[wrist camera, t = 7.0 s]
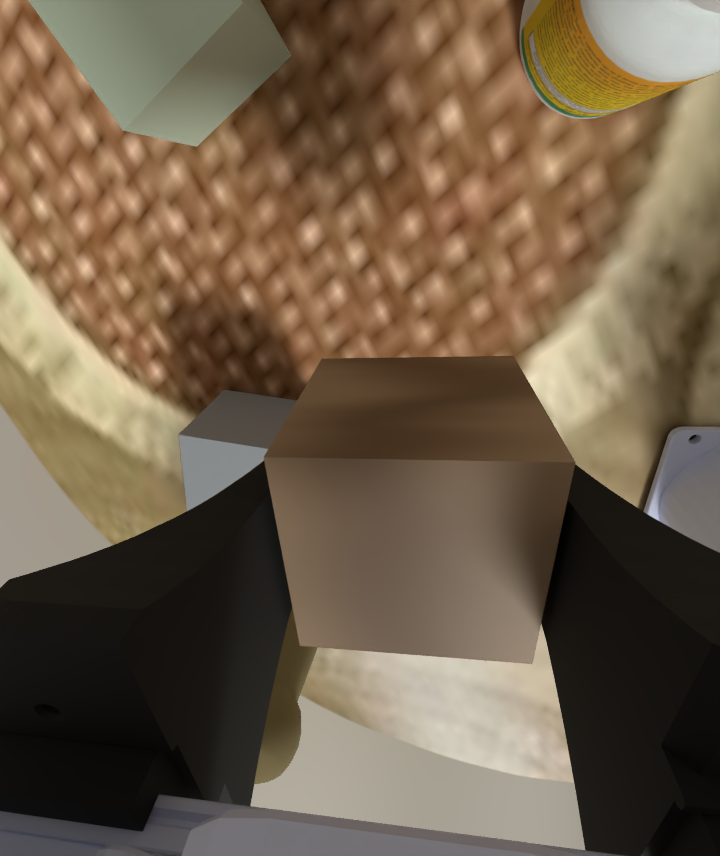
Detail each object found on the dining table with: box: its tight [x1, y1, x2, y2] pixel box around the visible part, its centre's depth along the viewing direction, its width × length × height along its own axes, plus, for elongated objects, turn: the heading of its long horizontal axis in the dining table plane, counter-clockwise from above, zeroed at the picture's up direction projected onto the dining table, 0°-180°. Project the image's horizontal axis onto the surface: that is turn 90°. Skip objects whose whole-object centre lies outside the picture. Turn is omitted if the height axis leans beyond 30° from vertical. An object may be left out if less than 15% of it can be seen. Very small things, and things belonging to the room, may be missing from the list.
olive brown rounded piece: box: [254, 608, 317, 784], centre depth 24 cm, size 6×6×11 cm
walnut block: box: [264, 356, 575, 664], centre depth 10 cm, size 5×5×5 cm
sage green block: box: [28, 0, 292, 147], centre depth 14 cm, size 5×5×5 cm
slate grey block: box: [179, 390, 297, 511], centre depth 22 cm, size 5×5×5 cm
